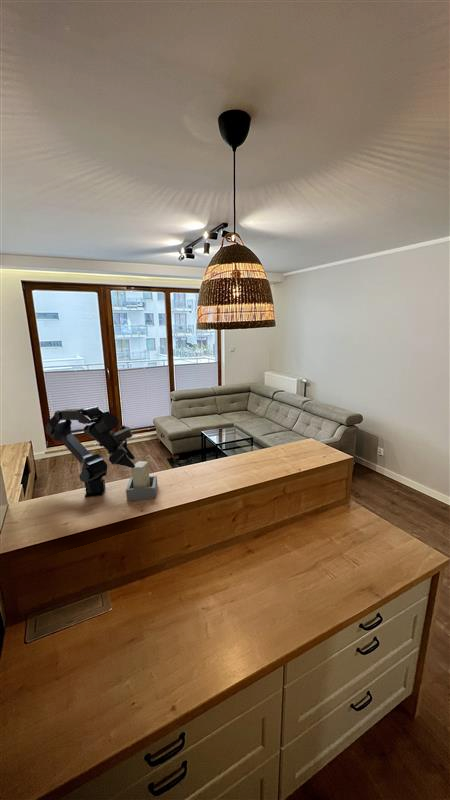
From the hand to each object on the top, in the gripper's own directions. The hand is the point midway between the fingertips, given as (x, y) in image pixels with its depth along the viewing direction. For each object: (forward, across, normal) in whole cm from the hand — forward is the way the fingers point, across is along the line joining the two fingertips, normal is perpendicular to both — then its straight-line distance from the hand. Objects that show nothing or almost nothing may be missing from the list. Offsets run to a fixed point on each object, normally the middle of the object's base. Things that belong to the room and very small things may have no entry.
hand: (134, 462), depth 124 cm
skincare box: (+11, -1, +7) cm, 13 cm away
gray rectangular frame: (+11, -1, +6) cm, 13 cm away
